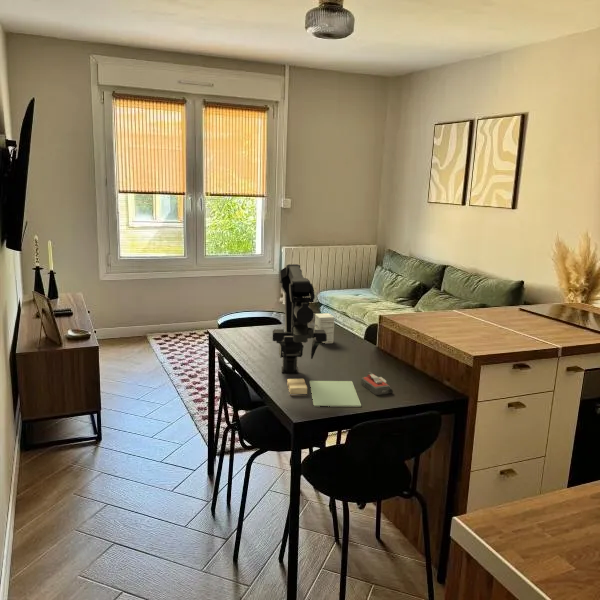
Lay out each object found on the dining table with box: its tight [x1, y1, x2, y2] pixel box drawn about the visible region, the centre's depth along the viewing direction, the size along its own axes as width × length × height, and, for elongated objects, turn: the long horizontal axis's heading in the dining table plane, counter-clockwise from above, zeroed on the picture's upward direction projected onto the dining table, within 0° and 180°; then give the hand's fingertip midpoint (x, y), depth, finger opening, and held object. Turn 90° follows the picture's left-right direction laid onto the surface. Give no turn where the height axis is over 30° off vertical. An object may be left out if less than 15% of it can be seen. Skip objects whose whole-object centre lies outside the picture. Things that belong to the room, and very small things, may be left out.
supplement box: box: [314, 312, 335, 344], centre depth 250 cm, size 7×7×13 cm
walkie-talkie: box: [360, 371, 394, 396], centre depth 199 cm, size 9×4×20 cm
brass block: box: [286, 378, 308, 395], centre depth 192 cm, size 9×6×3 cm, turn 8°
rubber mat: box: [308, 380, 362, 408], centre depth 190 cm, size 22×16×1 cm
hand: (298, 358), depth 189 cm, fingers open, 9 cm apart
